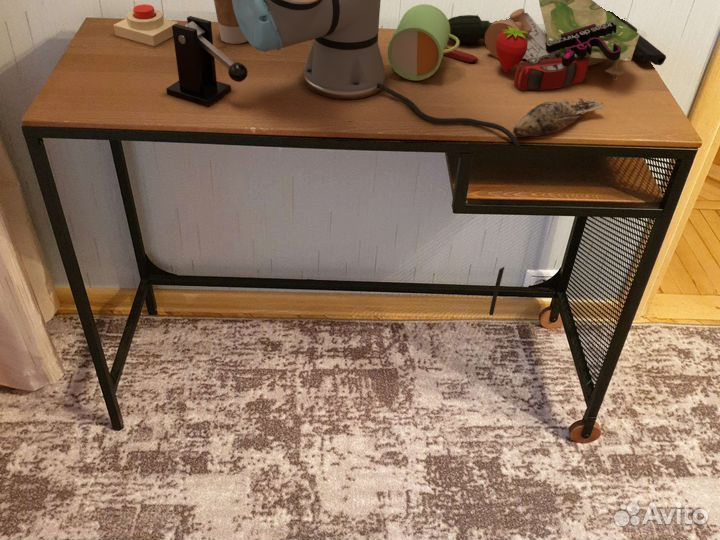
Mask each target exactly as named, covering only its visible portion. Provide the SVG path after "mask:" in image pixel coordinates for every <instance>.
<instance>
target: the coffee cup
mask: <svg viewBox="0 0 720 540" xmlns="http://www.w3.org/2000/svg"><path fill="white" fill-rule="evenodd" d="M213 3H214V8H215V9H214V10H215V13H216V19H217V20H216V21H217V24H218V30H219V37H220V41H222V42H224V43H226V44H231V45H239V44H244V43H246V42H248V41H247V39H246V38H245V36H244V35H243V33H242V31H241V29H240V27H239V25H238V22H237V19H236V16H235V13H234V9H233V4H232V0H213Z"/></svg>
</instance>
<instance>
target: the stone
mask: <svg viewBox="0 0 720 540" xmlns="http://www.w3.org/2000/svg"><path fill="white" fill-rule="evenodd" d="M524 13H525V17H526V20H527V22H528V23H529V25H530V26H531V27H532V30H531V32H530V34H529V35H528V36H526V37H525V38H526V40H527V42H528V46H527V51H526V53H525V55H524V57H523V59H522V60H524V59H525V61H528V59H529V58H535V59H537V60H539V59H549V58H559V57H562V55H561V54H559V53H558V52H557V51H555V52H552V53H547V51H546V43H547V42H548V40H547V34H546V33H544V31H543V30H542V29H541V27H540V26H539V25H538V24H537V22H536V21H535V20H534V18H533V17H532V15H530V14H529V13H528V12H524ZM508 18H509V17H508ZM505 19H506V21H510V22H513V20H512V19H510V18H509V19H507V18H505ZM496 21H497V20H495V21H493V22H492V23H494V22H496Z"/></svg>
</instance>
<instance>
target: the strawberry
mask: <svg viewBox="0 0 720 540" xmlns="http://www.w3.org/2000/svg"><path fill="white" fill-rule="evenodd" d="M519 23H520V22H519ZM518 25H519V24H518ZM518 25H517V26H518ZM517 26H516V27H517ZM516 27H515V29H514V28H512V27H509V26H508V28H509V30H504V29H502V30H503V32H502V33H500V34H499V35H498V37H497V40H496V53H497V56H498V58H499V59H498V58H497V59H498V61H499V64H500V65H501V67H502V70H503V71H504V72H505V73H507V72H510V71H511V70H512V69H513V68H514V67H516V66H518V64H519V63H521V61H522V60H524V59H523V57H524V55H525V53H526V51H527V46H528V42H527V40H526V38H525V36H524V35H523V34H530V33H528V32H524V31H520V32H518V28H516Z"/></svg>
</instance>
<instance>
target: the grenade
mask: <svg viewBox="0 0 720 540" xmlns="http://www.w3.org/2000/svg"><path fill="white" fill-rule="evenodd" d="M448 21H449V24H450V34H452V35H454V36H456V37H457V38H458V39H459V42H460V44H466V45H473V44H478V43H479V41H480V40H485V33H486V31H487V29H488V28H489V27H490V26H491V25H492V24H493V22H490V20H482V19H481V17H480V16H479V15H474V14H473V15H472V14H466V15H465V14H464V15H457V16H453V17H450V18H449V19H448ZM448 41H451V42H455V43H456V41H455V40H454V39H452V38H450V37H449V40H448Z"/></svg>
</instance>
